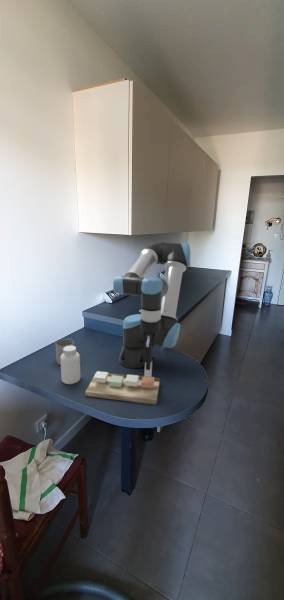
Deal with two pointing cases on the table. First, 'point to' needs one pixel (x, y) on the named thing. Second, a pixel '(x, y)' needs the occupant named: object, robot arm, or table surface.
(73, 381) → the pill bottle
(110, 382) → the key sage
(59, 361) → the cup
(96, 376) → the white key
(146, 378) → the key terracotta
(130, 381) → the white key
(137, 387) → the keypad board
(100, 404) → the table surface
